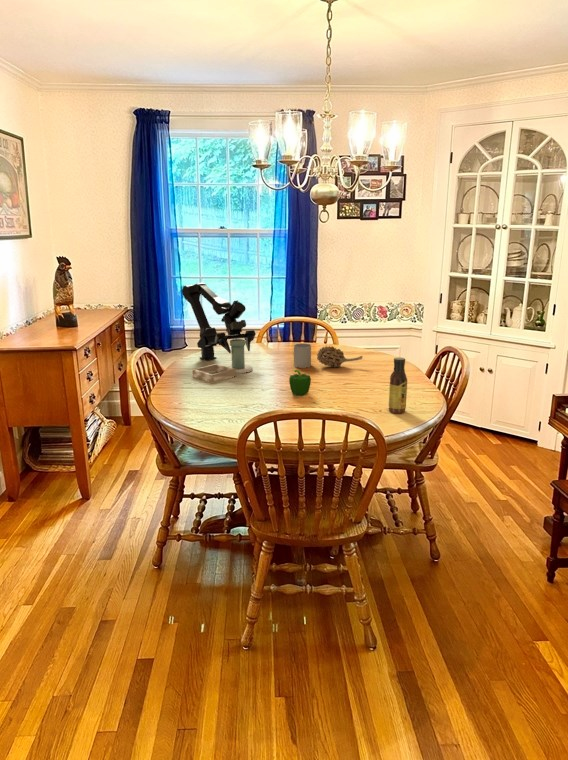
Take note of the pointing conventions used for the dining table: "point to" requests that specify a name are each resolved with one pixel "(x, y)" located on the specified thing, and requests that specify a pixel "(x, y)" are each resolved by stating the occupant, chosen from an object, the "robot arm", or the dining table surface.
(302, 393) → the bell pepper
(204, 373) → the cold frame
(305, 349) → the cup
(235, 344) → the flower pot
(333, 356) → the pine cone
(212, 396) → the dining table surface
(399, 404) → the sauce bottle
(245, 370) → the saucer
